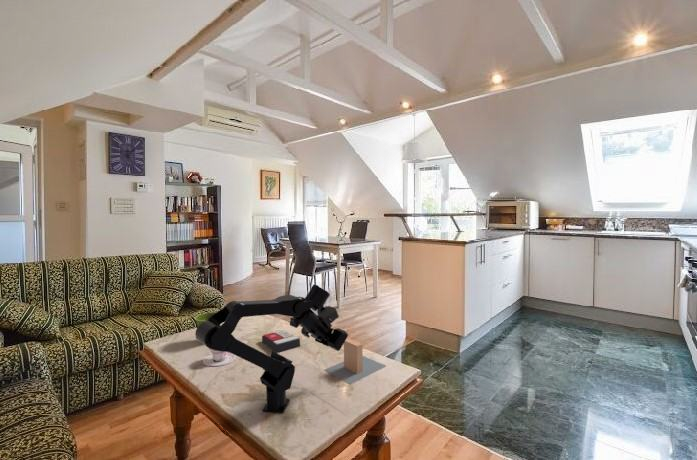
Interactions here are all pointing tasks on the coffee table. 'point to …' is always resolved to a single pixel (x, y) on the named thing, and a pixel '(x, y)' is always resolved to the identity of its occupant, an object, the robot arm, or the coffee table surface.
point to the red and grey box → (281, 341)
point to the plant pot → (203, 317)
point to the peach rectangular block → (353, 356)
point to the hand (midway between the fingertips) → (337, 345)
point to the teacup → (218, 358)
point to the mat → (350, 376)
